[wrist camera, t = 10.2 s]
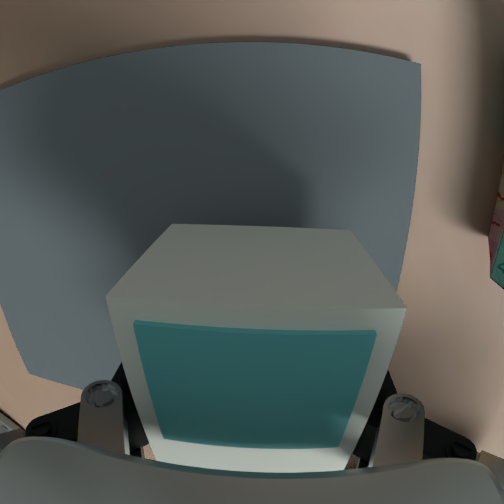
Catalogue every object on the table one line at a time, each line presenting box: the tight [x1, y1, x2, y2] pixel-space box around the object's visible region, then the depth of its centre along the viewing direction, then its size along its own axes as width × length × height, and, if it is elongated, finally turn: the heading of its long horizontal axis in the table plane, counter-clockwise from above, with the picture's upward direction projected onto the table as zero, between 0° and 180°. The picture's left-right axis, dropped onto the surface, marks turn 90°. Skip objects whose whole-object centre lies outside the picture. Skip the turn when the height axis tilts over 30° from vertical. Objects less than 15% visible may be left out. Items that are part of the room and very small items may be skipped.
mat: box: [0, 42, 421, 390], centre depth 13 cm, size 22×18×1 cm
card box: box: [106, 224, 407, 473], centre depth 10 cm, size 9×6×5 cm, turn 179°
